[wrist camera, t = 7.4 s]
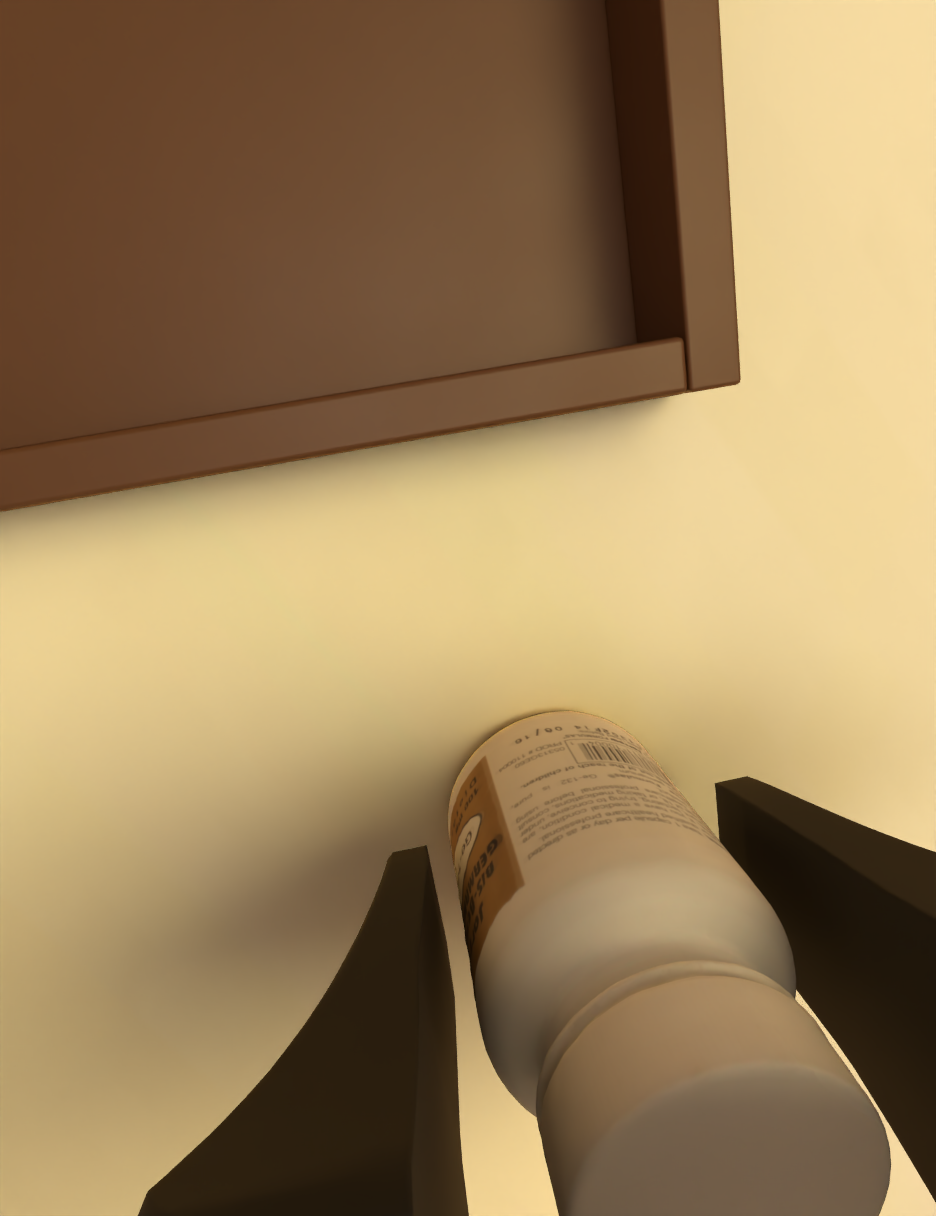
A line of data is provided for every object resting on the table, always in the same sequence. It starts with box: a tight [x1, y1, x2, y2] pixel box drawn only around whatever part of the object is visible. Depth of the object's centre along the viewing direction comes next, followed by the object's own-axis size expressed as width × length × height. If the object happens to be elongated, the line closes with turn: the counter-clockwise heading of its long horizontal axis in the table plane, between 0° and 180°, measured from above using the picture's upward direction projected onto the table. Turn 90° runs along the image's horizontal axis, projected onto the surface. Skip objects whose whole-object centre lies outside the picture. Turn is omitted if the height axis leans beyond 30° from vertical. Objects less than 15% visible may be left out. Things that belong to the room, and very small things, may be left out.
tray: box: [0, 0, 740, 512], centre depth 9 cm, size 16×12×2 cm
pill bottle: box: [448, 711, 891, 1216], centre depth 11 cm, size 4×4×8 cm
